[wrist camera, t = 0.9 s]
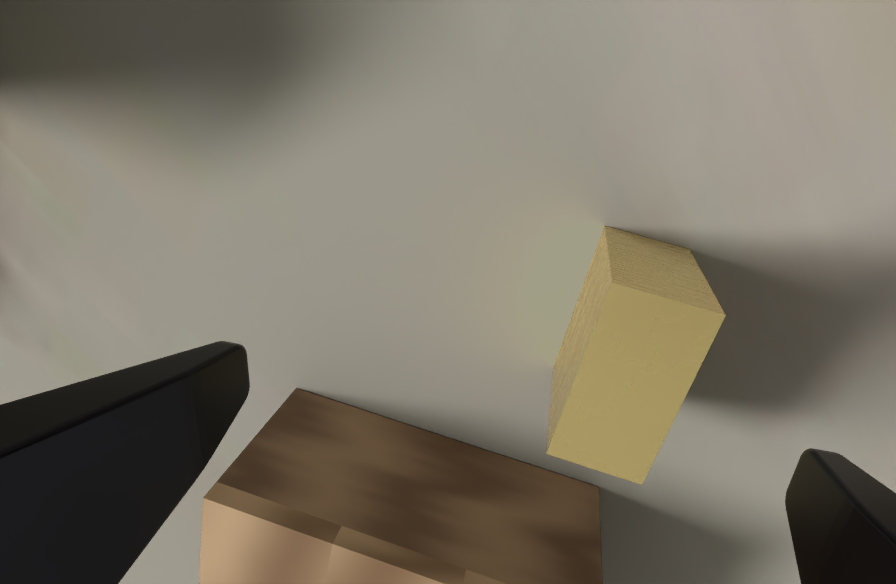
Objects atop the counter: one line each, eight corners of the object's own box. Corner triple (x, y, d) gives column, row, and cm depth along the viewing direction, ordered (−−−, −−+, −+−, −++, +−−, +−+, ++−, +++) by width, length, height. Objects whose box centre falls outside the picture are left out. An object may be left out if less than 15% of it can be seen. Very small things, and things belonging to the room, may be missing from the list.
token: (689, 248, 20) (725, 315, 15) (628, 388, 22) (641, 485, 17) (604, 225, 20) (612, 282, 15) (553, 365, 22) (546, 453, 17)
